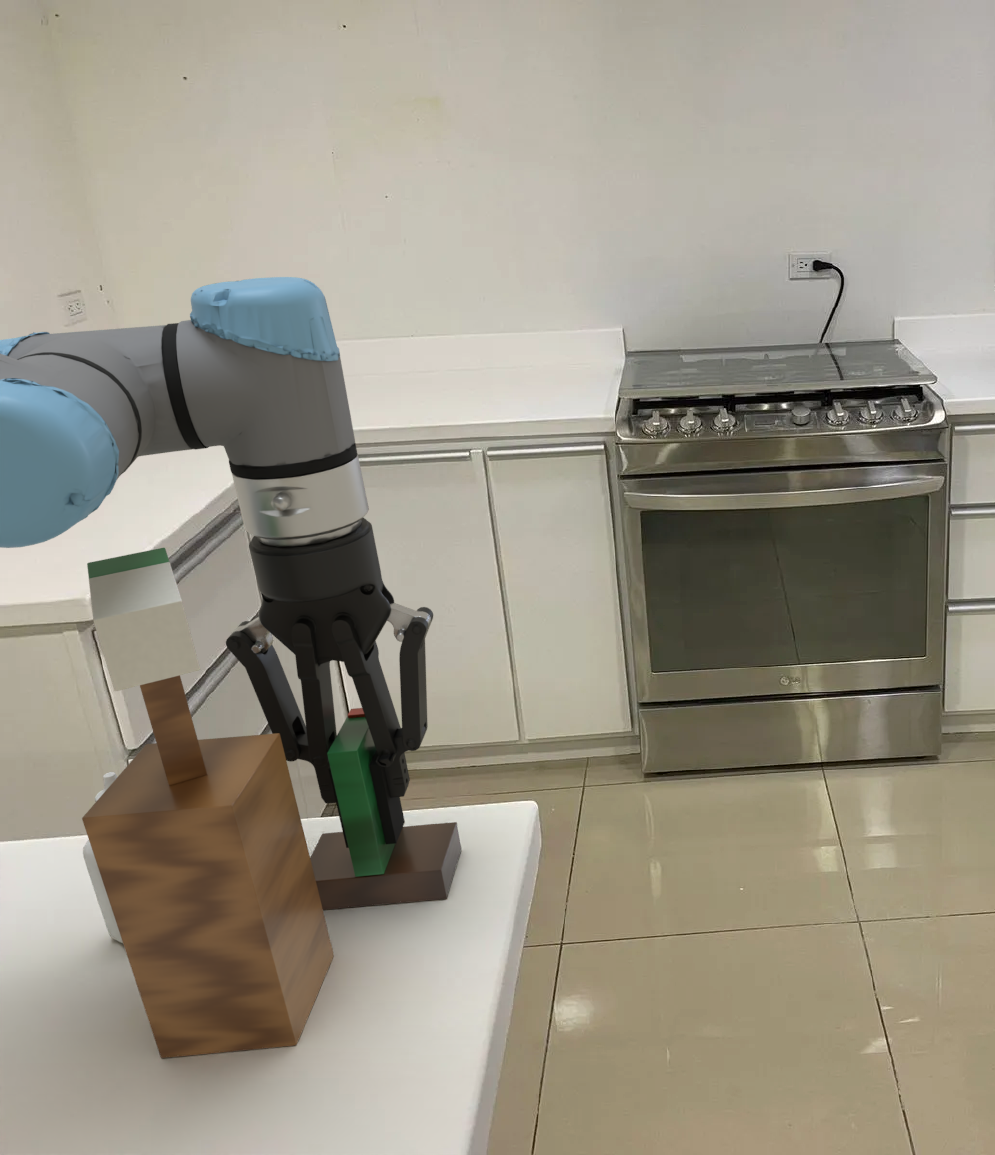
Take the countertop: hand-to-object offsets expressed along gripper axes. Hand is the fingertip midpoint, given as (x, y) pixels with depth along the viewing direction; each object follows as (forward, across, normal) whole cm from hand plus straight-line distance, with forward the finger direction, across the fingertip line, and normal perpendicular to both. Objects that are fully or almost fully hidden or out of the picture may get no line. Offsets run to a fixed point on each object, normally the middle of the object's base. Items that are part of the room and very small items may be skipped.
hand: (375, 834), depth 81 cm
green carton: (+1, 0, 0) cm, 1 cm away
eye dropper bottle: (+4, -16, -2) cm, 16 cm away
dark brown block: (+4, 0, 0) cm, 4 cm away
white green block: (-21, -6, -12) cm, 25 cm away
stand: (+4, -6, -12) cm, 14 cm away
